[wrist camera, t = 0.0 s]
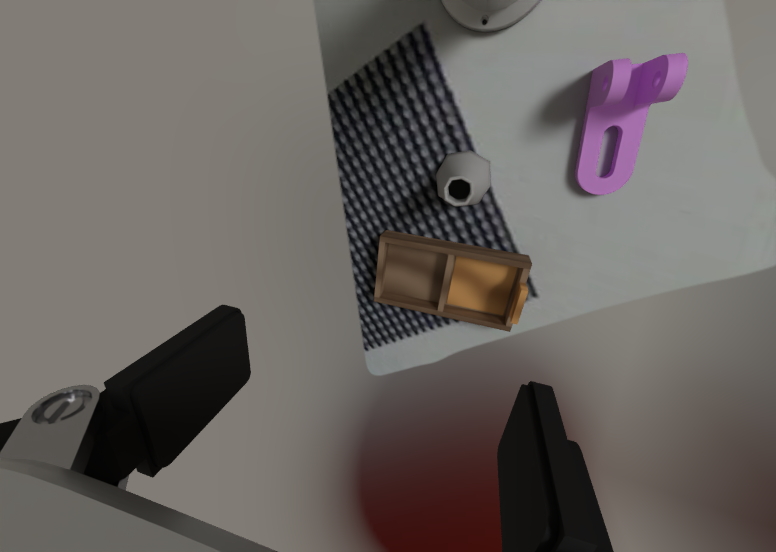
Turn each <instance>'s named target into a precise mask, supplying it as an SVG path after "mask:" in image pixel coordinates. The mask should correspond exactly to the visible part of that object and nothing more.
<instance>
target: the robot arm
mask: <svg viewBox="0 0 776 552" xmlns="http://www.w3.org/2000/svg"><path fill="white" fill-rule="evenodd" d="M441 1H442V4H443V5H444V7H445V9H446V10H447V12H448V13H449V14H450V16H451V17H452V18H453V19H454V20H455V21H456V22H458V23H459V24H461V25H462V26H464V27H466V28H468V29H471V30H474V31H481V32H490V31H498V30H501V29H504V28H507V27H509V26H511V25H513V24H515V23H516V22H518V21H520V20H521V19H523V18H524V17H525V16H526V15H528V14H529V13H530V12H531V11H532V10H533V9H534V8H535V7H536V6H537V5H538V4H539V3H540V1H541V0H441ZM484 20H486V21H487V24H486V25H483V24H482V22H483V21H484ZM250 374H251V371H250V361H249V352H248V345H247V336H246V326H245V318H244V315H243V314H242V313H241V310H240V309H238V308H235V307H231V306H227V305H221V306H219V307H217V308H216V309H214V310H213V311H211V312H210V313H208V314H207V315H205V316H204V317H202V318H201V319H199V320H198V321H196V322H194V323H193V324H192V325H190V326H188V327H187V328H185V329H184V330H182V331H181V332H179V333H178V334H176V335H175V336H173V337H172V338H170V339H169V340H167V341H166V342H164V343H163V344H161V345H160V346H158V347H157V348H155V349H154V350H152V351H151V352H149V353H148V354H146V355H145V356H143V357H141V358H140V359H138V360H137V361H135V362H134V363H132V364H131V365H129V366H128V367H126V368H125V369H124V370H122V371H120V372H119V373H117V374H116V375H114V376H113V377H111V378H110V379H108V380H107V381H105V382H104V385H105V387H106V389H105V390H104V391H103V392H101V393H100V392H99V391H98V389H97V388H95V387H93V386H89V385H78V386H72V387H68V388H64V389H61V390H58V391H56V392H54V393H51V394H49V395H47V396H45V397H44V398H42V399H40V400H39V401H37V402H36V403H35V404H33V405H32V406H31V407H30V408H29V409H28V410H27V412H26V413H25V414H24V416H23V417H22V418H20V419H16V420H13V421H9V422H4V423H0V552H277V551H275V550H272V549H270V548H268V547H265V546H263V545H260V544H258V543H255V542H253V541H250V540H248V539H245V538H243V537H240V536H238V535H235V534H233V533H230V532H228V531H226V530H223V529H221V528H218V527H216V526H213V525H211V524H208V523H206V522H203V521H201V520H198V519H196V518H193V517H191V516H188V515H186V514H183V513H181V512H178V511H176V510H173V509H171V508H168V507H166V506H163V505H161V504H158V503H156V502H153V501H151V500H148V499H146V498H143V497H140V496H138V495H136V494H133V493H131V492H128V491H126V486H127V482H128V478H129V474H130V473H131V472H132V471H133V470H134V469H135V468H137V471H138V472H140V473H142V474H145V475H148V476H150V477H154V476H155V475H156V474H157V473H158V472H159V471H160V470H161V469H162V467H163V468H164V467H166V466H168V465H169V464H171V463H172V462H173V460H175V458H176V457H177V456H178V455H179V454H180V453H181V452H182V451H183V450H184V449H185V448H186V447H187V446H188V445H189V444H190V442H191V441H192V440H193V439H194V438H195V437H196V436H197V435H198V434H199V433H200V432H201V431H202V430H203V429H204V428H205V426H206V425H207V424H208V423H209V422H210V421H211V420H212V419H213V418H214V417H215V416H216V415H217V414H218V413H219V411H220V410H221V409H222V408H223V407H224V406H225V405H226V404H227V403H228V402H229V401H230V400H231V399H232V397H233V396H234V395H235V394H236V393H237V392H238V391H239V390H240V389H241V388H242V387H243V386H244V385H245V384H246V383H247V381H248V380H249V378H250ZM497 459H498V478H499V496H500V515H501V532H502V552H614V551H613V549H612V545H611V542H610V539H609V536H608V533H607V530H606V526H605V523H604V520H603V517H602V514H601V511H600V508H599V505H598V501H597V498H596V495H595V492H594V489H593V486H592V483H591V480H590V477H589V473H588V470H587V467H586V464H585V461H584V458H583V454H582V452H581V449H580V447H579V445H578V444H577V443H576V442H574V441H570V440H567V436H566V433H565V429H564V426H563V422H562V419H561V415H560V412H559V408H558V405H557V401H556V398H555V394H554V391H553V388H552V387H551V386H548V385H544V384H540V383H536V382H532V381H530V382H529V384H528V385H524V384H523V385H521V387H520V390H519V392H518V395H517V398H516V400H515V403H514V406H513V408H512V411H511V414H510V416H509V419H508V422H507V424H506V427H505V430H504V433H503V435H502V438H501V440H500V443H499V446H498V453H497Z"/></svg>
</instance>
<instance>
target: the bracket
mask: <svg viewBox="0 0 776 552" xmlns="http://www.w3.org/2000/svg"><path fill="white" fill-rule="evenodd" d="M687 67H688V59H687V56H686V54H685V53H679V54H669V55H662V56H660V57H657V58H655V59H653V60H650V61H648V62H646V63H642V64H631V61H630V59H618V60H610V61H608V62H606V63H604V64H603V65H601V66H599V67H597V68H595V69H594V70H593V73H592V78H591V84H590V90H589V95H588V101H587V107H586V112H585V118H584V124H583V129H582V135H581V140H580V146H579V152H578V157H577V163H576V169H575V178H576V181H577V183H578V185H579V186H580V187H581V188H582V189H584V190H585V191H587V192H589V193H592V194H596V195H604V194H609V193H612V192H614V191H616V190H618V189H619V188H621V187H622V186H623V185H624V184H625V183H626V182H627V181H628V180H629V178H630V177H631V175H632V173H633V169H634V165H635V161H636V157H637V153H638V149H639V145H640V141H641V137H642V133H643V129H644V125H645V121H646V117H647V113H648V109H649V106H650V105H651V104H652V103H658V102H664V101H669V100H671V99H673V98H674V97H675V95H676V94H677V93H678V91H679V90H680V88H681V86H682V84H683V82H684V79H685V76H686V72H687ZM610 126H615V127H616V128H617V129H618V137H617V142H616V147H615V151H614V156H613V160H612V165H611V169H610V172H609V173H608V174H607V175H605V176H603V177H598V176H597V175H596V168H597V163H598V158H599V153H600V149H601V144H602V139H603V134H604V132H605V130H606V129H607V128H609V127H610Z"/></svg>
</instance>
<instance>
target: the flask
mask: <svg viewBox="0 0 776 552" xmlns="http://www.w3.org/2000/svg"><path fill="white" fill-rule="evenodd" d="M436 179H437V189H438V196H439V197H441V198H443V199H444V200H445V201H447V202H448V203H450V204H452V205H453V206H456V207H457V206H466V205H475V204H479V202H480V201H481V199H482V198H483V196H484V195H485V193H486V192H487V190H488V189H489V187H490V186H491V175H490V162H489V161H488V160H486V159H484V158H483V157H481V156H479V155H478V154H476V153H474V152H472V151H471V150H469V151H463V152H457V153H450V154H447V156H446V158H445V159H444V161H443V163H442V165H441V166H440V168H439V170H438V172H437V173H436Z"/></svg>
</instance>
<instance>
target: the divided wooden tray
mask: <svg viewBox="0 0 776 552" xmlns="http://www.w3.org/2000/svg"><path fill="white" fill-rule="evenodd" d="M531 266H532V262H531V260H530V257H529V255H523V254H517V253H512V252H506V251H501V250H495V249H489V248H484V247H478V246H473V245H467V244H461V243H456V242H450V241H445V240H439V239H434V238H428V237H422V236H417V235H411V234H406V233H400V232H394V231H389V230H386V231H385V232H384V233H383V234H382V235H381V236H380V242H379V253H378V263H377V274H376V284H375V295H374V301H376V302H380V303H384V304H389V305H393V306H398V307H402V308H407V309H411V310H416V311H420V312H424V313H429V314H433V315H438V316H442V317H447V318H451V319H456V320H460V321H465V322H469V323H473V324H478V325H482V326H487V327H491V328H496V329H500V330H505V331H509V332H510V330H511V327H512V324H518V321H519V318H520V315H521V312H522V309H523V306H524V303H525V300H526V297H527V294H528V289H527V286H526V281H527V278H528V275H529V272H530V269H531Z"/></svg>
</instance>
